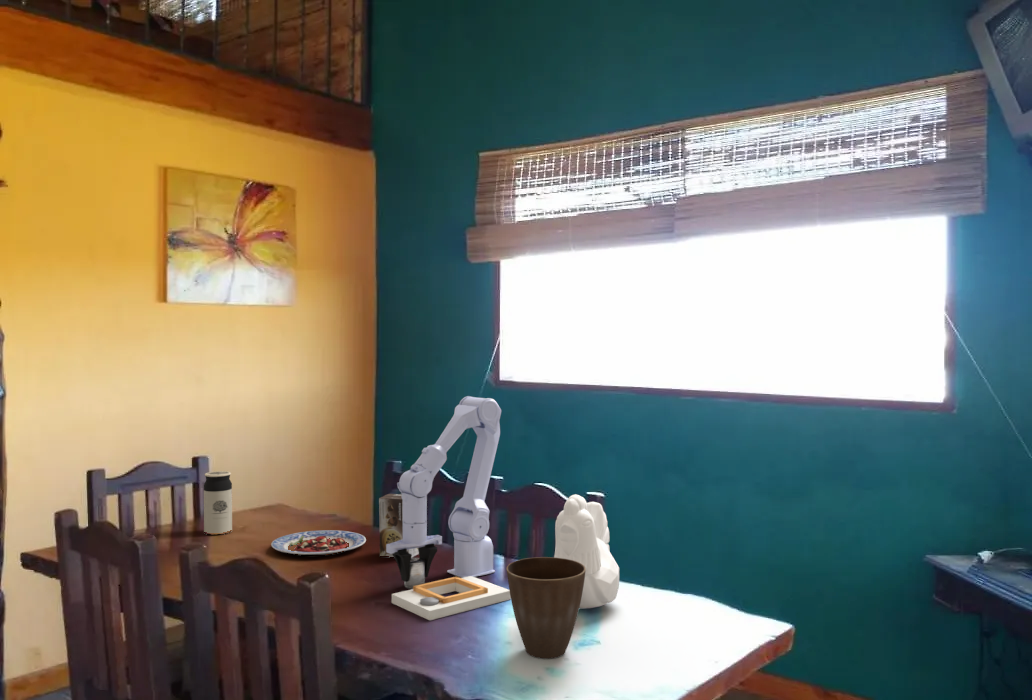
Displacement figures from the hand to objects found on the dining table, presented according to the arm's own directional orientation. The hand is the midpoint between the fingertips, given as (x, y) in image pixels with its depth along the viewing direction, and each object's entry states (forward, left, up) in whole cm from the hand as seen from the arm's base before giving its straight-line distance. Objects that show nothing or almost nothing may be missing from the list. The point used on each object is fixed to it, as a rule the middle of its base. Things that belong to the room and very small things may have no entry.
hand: (414, 578), depth 200 cm
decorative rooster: (-24, +35, -2) cm, 42 cm away
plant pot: (+4, +51, -2) cm, 51 cm away
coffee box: (-12, -26, -2) cm, 29 cm away
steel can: (0, 0, -2) cm, 2 cm away
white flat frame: (0, +15, -2) cm, 15 cm away
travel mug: (+16, -83, -2) cm, 85 cm away
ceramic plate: (+1, -47, -2) cm, 47 cm away
